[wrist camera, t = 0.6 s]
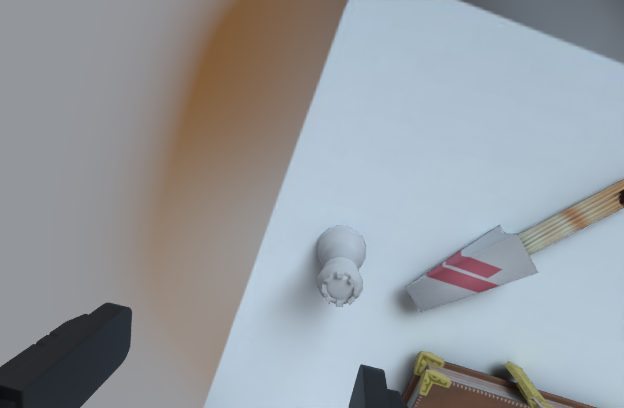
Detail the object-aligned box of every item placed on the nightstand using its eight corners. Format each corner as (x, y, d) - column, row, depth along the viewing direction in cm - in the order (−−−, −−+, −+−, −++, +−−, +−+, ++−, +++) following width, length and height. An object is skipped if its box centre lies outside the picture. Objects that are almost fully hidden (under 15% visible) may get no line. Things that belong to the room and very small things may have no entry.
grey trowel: (405, 290, 26) (654, 164, 22) (398, 276, 29) (620, 161, 25) (427, 326, 27) (673, 208, 23) (419, 309, 29) (638, 201, 26)
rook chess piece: (375, 254, 29) (385, 301, 21) (334, 276, 30) (329, 329, 22) (349, 214, 28) (350, 249, 20) (308, 238, 29) (295, 279, 21)
